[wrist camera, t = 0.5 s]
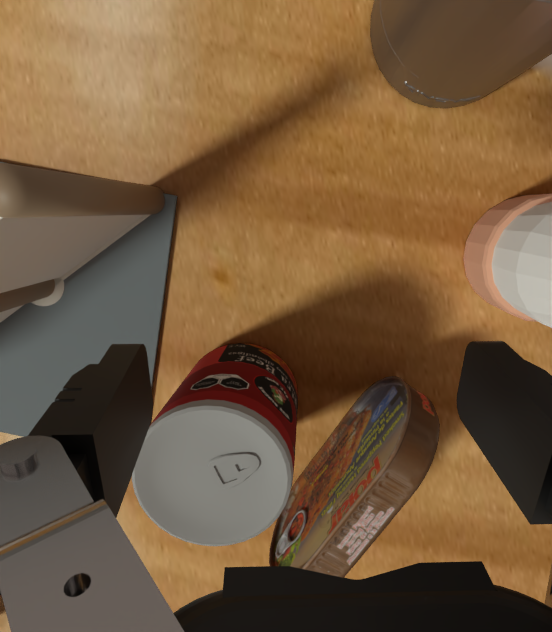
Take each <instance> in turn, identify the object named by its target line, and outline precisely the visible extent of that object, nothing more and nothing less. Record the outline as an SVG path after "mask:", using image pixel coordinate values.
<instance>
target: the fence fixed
mask: <svg viewBox="0 0 552 632" xmlns="http://www.w3.org/2000/svg"><path fill="white" fill-rule="evenodd" d="M163 193H164V192H163V191H162V190H161V189H160V188H158V187H155V186H149V185H143V184H136V183H130V182H123V181H117V180H111V179H104V178H98V177H91V176H85V175H79V174H72V173H66V172H59V171H53V170H47V169H40V168H34V167H27V166H21V165H14V164H8V163H0V312H3V311H6V310H9V309H12V308H15V307H18V306H21V305H24V304H27V303H30V302H33V301H36V300H40V299H43V298H46V297H48V296H50V295H51V294H52V293H53V291H54V289H55V281H54V279H55V278H59V277H62V276H63V275H64V274H66V273H67V272H68V271H70V270H71V269H72V268H74V267H75V266H76V265H78V264H79V263H80V262H82V261H83V260H84V259H86V258H87V257H88V256H90V255H91V254H92V253H94V252H95V251H96V250H98V249H99V248H100V247H102V246H103V245H104V244H106V243H107V242H108V241H110V240H111V239H112V238H114V237H115V236H116V235H118V234H119V233H120V232H122V231H123V230H124V229H126V228H127V227H128V226H130V225H131V224H132V223H134V222H135V221H136V220H138V219H139V218H140V217H142V216H143V215H149V214H157V213H159V212H160V211H161V210H162V209H163V207H164V205H165V197H164V194H163Z"/></svg>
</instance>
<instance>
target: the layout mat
mask: <svg viewBox="0 0 552 632" xmlns="http://www.w3.org/2000/svg"><path fill="white" fill-rule="evenodd" d="M0 163H4V162H0ZM8 164H9V163H8ZM163 194H164V193H163ZM164 197H165V205H164V207H163V209H162V210H161V211H160V212H159V213H157V214H149V215H143V216H142V217H140V218H139V219H138V220H136V221H135V222H134V223H132V224H131V225H130V226H128V227H127V228H126V229H124V230H123V231H122V232H120V233H119V234H118V235H116V236H115V237H114V238H112V239H111V240H110V241H108V242H107V243H106V244H104V245H103V246H102V247H100V248H99V249H98V250H96V251H95V252H94V253H92V254H91V255H90V256H88V257H87V258H86V259H84V260H83V261H82V262H80V263H79V264H78V265H76V266H75V267H74V268H72V269H71V270H70V271H68V272H67V273H66V274H64V275H63V276H62V277H59V278H55V279H54V281H55V289H54V291H53V293H52V294H51V295H50V296H48V297H46V298H43V299H40V300H36V301H33V302H30V303H27V304H25V305H23V306H22V307H21V308H19V309H18V310H17V311H15V312H14V313H13V314H11V315H10V316H9V317H7V318H6V319H5V320H3V321H2V322H1V323H0V432H4V433H9V434H13V435H18V436H23V437H26V436H28V435H29V433H30V432H31V431H32V429H33V428H34V426H35V425H36V424H37V422H38V421H39V420H40V418H41V417H42V416H43V414H44V413H45V412H46V410H47V409H48V407H49V406H50V405H51V403H52V402H55V398H56V397H57V395H58V394H59V393H60V391H63V387H64V386H65V384H66V383H67V382H68V380H69V379H70V378H71V376H72V375H73V374H75V373H77V372H78V371H80V370H81V369H83V368H84V367H86V366H87V365H89V364H99V362H100V361H101V359H102V358H103V356H104V355H105V353H106V352H107V350H108V349H109V347H110V346H111V345H112V344H144V345H145V347H146V351H147V357H148V365H149V373H150V382H151V390H152V387H153V379H154V372H155V364H156V356H157V349H158V341H159V333H160V326H161V318H162V310H163V303H164V295H165V287H166V280H167V272H168V264H169V257H170V249H171V242H172V234H173V226H174V219H175V211H176V203H177V196H175V195H170V194H164Z"/></svg>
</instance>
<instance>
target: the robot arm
mask: <svg viewBox="0 0 552 632" xmlns="http://www.w3.org/2000/svg"><path fill="white" fill-rule="evenodd" d="M370 37H371V43H372V49H373V54H374V56H375V59H376V61H377V64H378V66H379V69H380V71H381V72H382V74H383V75H384V77H385V78H386V80H387V81H388V83H389V84H390V85H391V86H392V87H393V88H394V89H396V90H397V91H398V92H399V93H400V94H401V95H403V96H404V97H406V98H408V99H409V100H411V101H413V102H415V103H418V104H421V105H424V106H428V107H433V108H452V107H459V106H464V105H467V104H469V103H472V102H475V101H477V100H480V99H481V98H483V97H485V96H486V95H488V94H489V93H491V92H493V91H494V90H496V89H497V88H499V87H500V86H502V85H504V84H505V83H507V82H508V81H510V80H511V79H513V78H515V77H517V76H518V75H520V74H521V73H523V72H524V71H526V70H527V69H529V68H531V67H532V66H534V65H535V64H537V63H538V62H540V61H541V60H543V59H544V58H546V57H547V56H549V55H551V54H552V0H374V4H373V9H372V13H371V26H370ZM457 409H458V414H459V417H460V419H461V421H462V422H463V424H464V425H465V427H466V428H467V430H468V431H469V433H470V434H471V436H472V437H473V439H474V440H475V442H476V443H477V445H478V446H479V448H480V449H481V451H482V452H483V454H484V455H485V457H486V458H487V460H488V461H489V463H490V464H491V466H492V467H493V469H494V470H495V472H496V473H497V475H498V476H499V478H500V479H501V481H502V482H503V484H504V485H505V487H506V488H507V490H508V491H509V493H510V494H511V496H512V497H513V499H514V500H515V502H516V503H517V505H518V506H519V508H520V509H521V511H522V512H523V514H524V515H525V517H526V518H527V520H528V522H529V523H530V524H552V376H551V375H550V374H549V373H548V372H547V371H545V370H543V369H541V368H539V367H538V366H536V365H534V364H532V363H530V362H528V361H526V360H524V359H523V358H521V357H520V356H519V355H518V354H517V353H516V352H515V351H514V350H513V349H512V348H511V347H509V346H508V345H507V344H506V343H505V342H503V341H474V342H470V343H469V344H468V346H467V348H466V351H465V356H464V361H463V367H462V372H461V377H460V382H459V388H458V393H457ZM152 411H153V399H152V390H151V382H150V373H149V365H148V357H147V351H146V347H145V345H144V344H112V345H111V346H110V347H109V349H108V350H107V352H106V353H105V355H104V356H103V358H102V359H101V361H100V362H99V364H89V365H87V366H86V367H84V368H83V369H81V370H80V371H78V372H77V373H75V374H73V375H72V376H71V378H70V379H69V380H68V382H67V383H66V384H65V386H64V387H63V391H60V393H59V394H58V395H57V397H56V398H55V402H52V403H51V405H50V406H49V407H48V409H47V410H46V412H45V413H44V414H43V416H42V417H41V418H40V420H39V421H38V422H37V424H36V425H35V426H34V428H33V429H32V431H31V432H30V433H29V435H28V436H26V437H21V438H17V439H14V440H11V441H8V442H6V443H3V444H1V445H0V595H2V599H3V603H4V606H5V610H6V614H7V618H8V621H9V625H10V629H11V632H552V565H551V570H550V576H549V582H548V587H547V593H546V599H545V604H543V603H541V602H540V601H538V600H536V599H534V598H531V597H529V596H527V595H524V594H522V593H519V592H517V591H514V590H511V589H508V588H504V587H501V586H497V585H493V583H492V581H491V579H490V577H489V575H488V573H487V571H486V569H485V567H484V565H483V563H482V561H480V562H437V563H417V564H414V565H411V566H407V567H404V568H400V569H397V570H393V571H390V572H386V573H383V574H380V575H376V576H373V577H369V578H366V579H361V580H353V579H347V578H342V577H338V576H333V575H328V574H324V573H319V572H314V571H310V570H305V569H300V568H296V567H291V566H267V567H225V572H224V584H223V590H220V591H217V592H214V593H211V594H208V595H206V596H203V597H201V598H199V599H196V600H194V601H193V602H191V603H189V604H187V605H185V606H184V607H182V608H180V609H179V610H178V611H176V612H175V613H173V612H172V610H171V609H170V607H169V605H168V604H167V602H166V601H165V599H164V597H163V596H162V594H161V592H160V591H159V589H158V587H157V586H156V584H155V582H154V581H153V579H152V577H151V576H150V574H149V572H148V571H147V569H146V567H145V566H144V564H143V562H142V561H141V559H140V557H139V556H138V554H137V552H136V551H135V549H134V548H133V546H132V544H131V543H130V541H129V539H128V538H127V536H126V534H125V533H124V531H123V529H122V528H121V526H120V524H119V523H118V521H117V519H116V517H117V514H118V511H119V509H120V506H121V503H122V500H123V498H124V495H125V492H126V490H127V487H128V484H129V481H130V479H131V476H132V473H133V470H134V468H135V465H136V462H137V459H138V457H139V454H140V451H141V448H142V446H143V443H144V440H145V437H146V435H147V432H148V429H149V426H150V423H151V419H152Z"/></svg>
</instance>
